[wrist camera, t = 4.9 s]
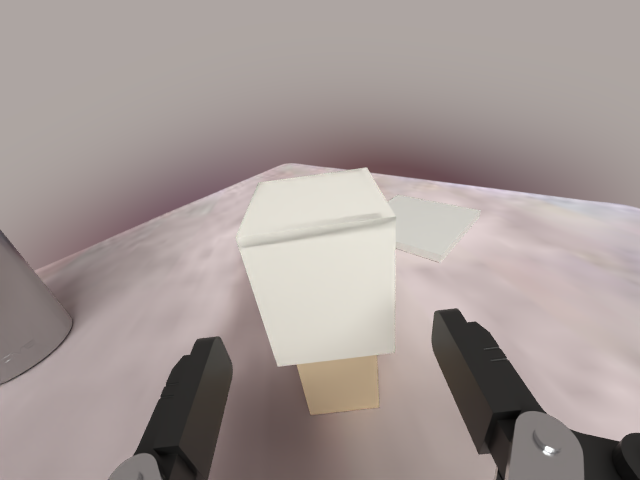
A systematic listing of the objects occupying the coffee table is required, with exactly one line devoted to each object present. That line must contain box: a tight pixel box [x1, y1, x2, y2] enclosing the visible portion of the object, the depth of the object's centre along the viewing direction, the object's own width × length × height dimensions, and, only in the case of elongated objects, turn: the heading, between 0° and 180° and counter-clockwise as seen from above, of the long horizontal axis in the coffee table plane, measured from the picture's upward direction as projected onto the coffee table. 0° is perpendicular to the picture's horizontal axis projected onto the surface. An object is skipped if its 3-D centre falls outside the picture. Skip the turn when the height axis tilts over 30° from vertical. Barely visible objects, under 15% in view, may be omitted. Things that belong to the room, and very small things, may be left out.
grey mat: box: [388, 195, 481, 263], centre depth 38 cm, size 12×12×1 cm
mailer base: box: [297, 355, 379, 415], centre depth 18 cm, size 5×5×14 cm
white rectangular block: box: [236, 168, 396, 367], centre depth 16 cm, size 6×6×8 cm
